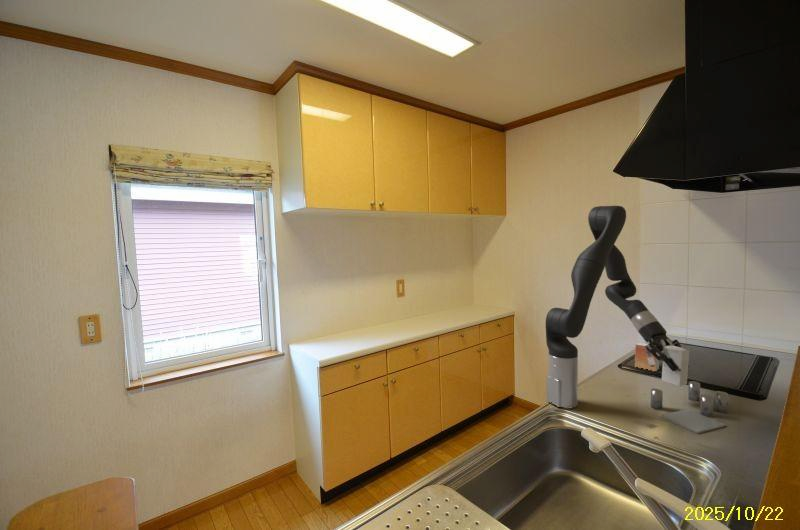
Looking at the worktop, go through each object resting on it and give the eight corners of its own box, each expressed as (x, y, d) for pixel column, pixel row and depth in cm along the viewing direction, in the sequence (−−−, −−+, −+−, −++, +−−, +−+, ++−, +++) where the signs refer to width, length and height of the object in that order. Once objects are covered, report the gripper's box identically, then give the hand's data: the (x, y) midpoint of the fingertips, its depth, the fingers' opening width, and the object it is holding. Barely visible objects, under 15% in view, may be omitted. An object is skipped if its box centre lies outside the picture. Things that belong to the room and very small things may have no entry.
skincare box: (661, 380, 127) (662, 346, 126) (668, 378, 129) (670, 344, 128) (680, 386, 121) (681, 350, 120) (688, 384, 123) (689, 349, 122)
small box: (634, 367, 161) (634, 344, 160) (638, 364, 165) (638, 341, 164) (656, 372, 155) (656, 347, 155) (659, 368, 159) (659, 345, 158)
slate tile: (697, 433, 106) (697, 431, 106) (660, 416, 116) (660, 415, 116) (725, 426, 109) (725, 424, 109) (686, 410, 120) (686, 409, 120)
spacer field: (686, 423, 112) (686, 404, 111) (648, 406, 123) (648, 389, 123) (732, 411, 118) (733, 393, 118) (692, 397, 130) (692, 380, 130)
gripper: (640, 321, 129) (674, 366, 118) (669, 319, 133) (704, 361, 122) (626, 333, 134) (657, 376, 123) (654, 330, 138) (687, 371, 128)
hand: (681, 368), depth 123 cm, fingers closed on skincare box, 4 cm apart
